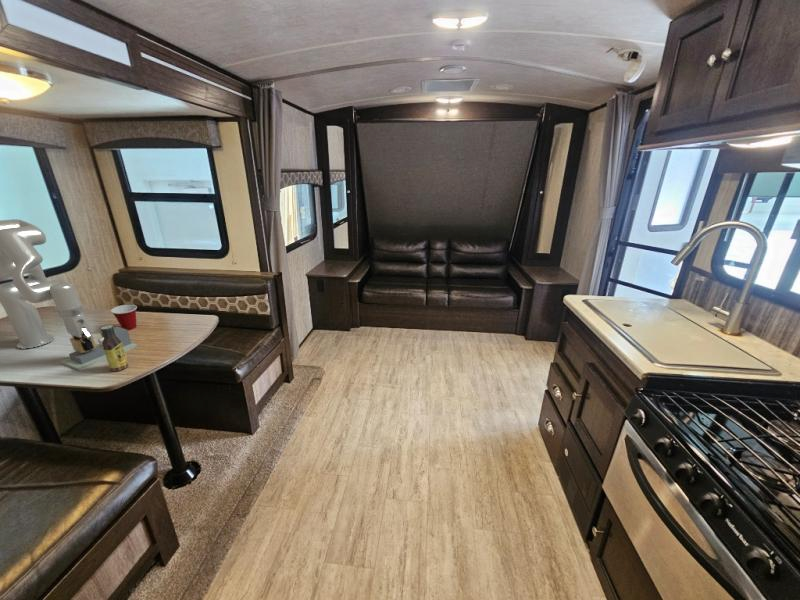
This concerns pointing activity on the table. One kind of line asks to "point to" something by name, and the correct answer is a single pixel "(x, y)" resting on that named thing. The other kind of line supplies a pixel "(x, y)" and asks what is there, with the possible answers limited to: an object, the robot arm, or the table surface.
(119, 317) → the plastic cup
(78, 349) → the hollow wooden square tube
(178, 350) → the table surface
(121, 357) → the sauce bottle
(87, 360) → the coupling rig
